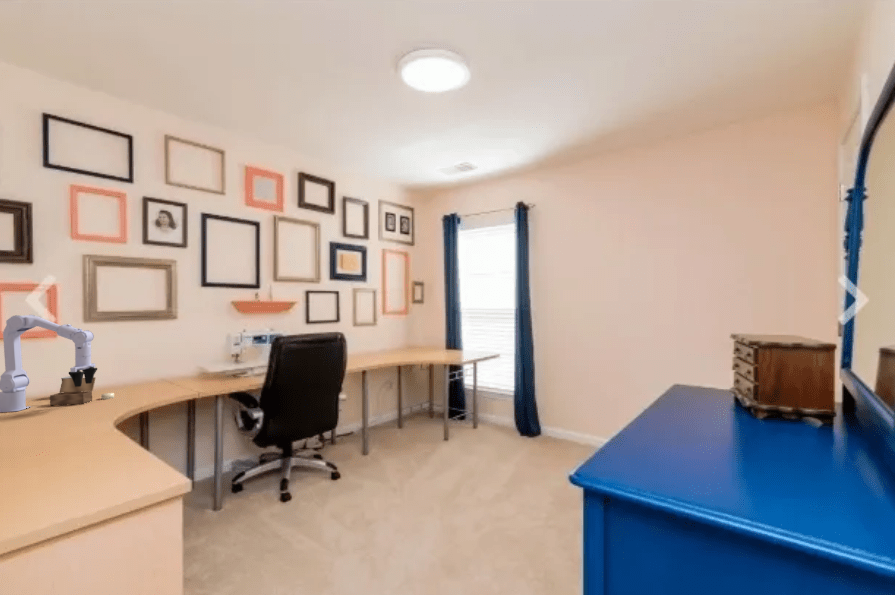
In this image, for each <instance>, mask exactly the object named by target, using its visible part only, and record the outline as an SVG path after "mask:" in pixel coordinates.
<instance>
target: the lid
mask: <svg viewBox="0 0 895 595" xmlns="http://www.w3.org/2000/svg"><path fill="white" fill-rule="evenodd" d="M95 382H96V377H95V376H94V377H93V380H92V383H89V384H86V382H85V377H83V378H82V384H81V386H80V387H75V385H74V382H73V379H72V378H69V379H61V384H60V387H59V393H64V392H86V391H92V392H93V391H94V387H95Z"/></svg>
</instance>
